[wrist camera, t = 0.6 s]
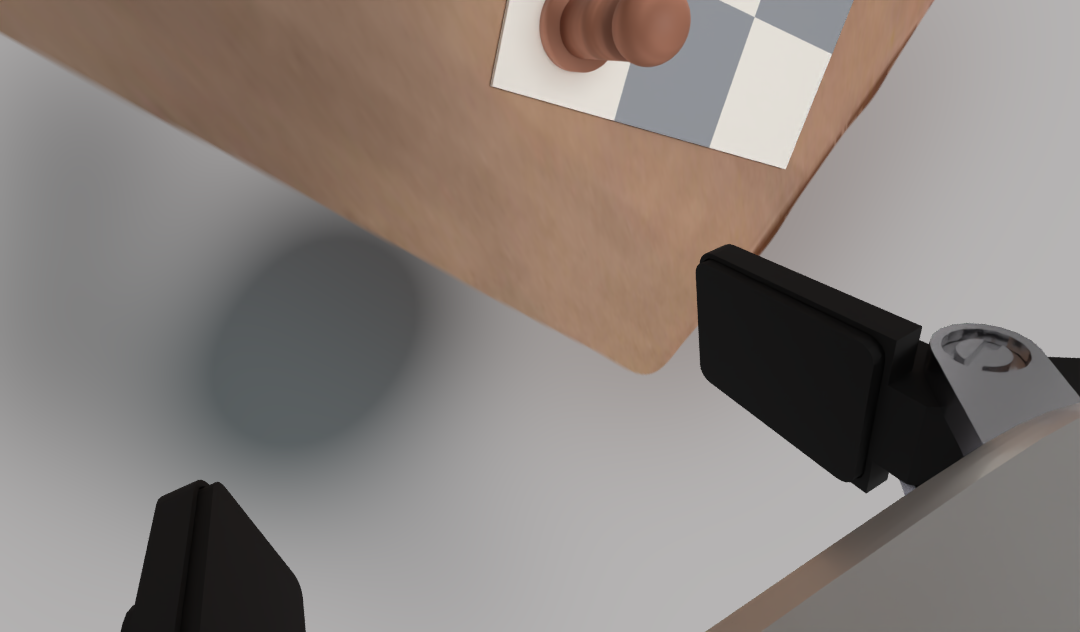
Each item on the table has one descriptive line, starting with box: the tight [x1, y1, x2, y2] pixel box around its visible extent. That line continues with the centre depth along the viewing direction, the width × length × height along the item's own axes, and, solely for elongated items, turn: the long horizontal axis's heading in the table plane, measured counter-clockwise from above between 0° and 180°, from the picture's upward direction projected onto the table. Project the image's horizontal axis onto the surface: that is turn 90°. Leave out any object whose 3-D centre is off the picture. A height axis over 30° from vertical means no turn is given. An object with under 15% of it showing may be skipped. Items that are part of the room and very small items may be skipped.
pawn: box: [539, 0, 691, 73], centre depth 30 cm, size 5×5×10 cm
